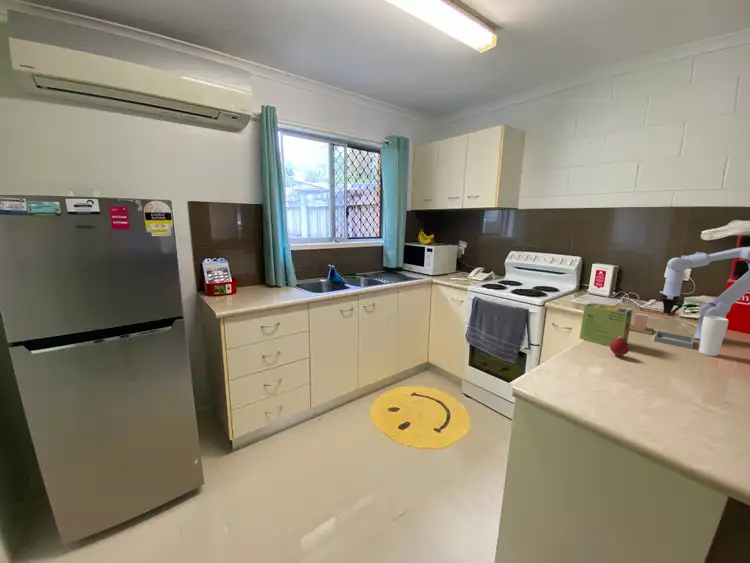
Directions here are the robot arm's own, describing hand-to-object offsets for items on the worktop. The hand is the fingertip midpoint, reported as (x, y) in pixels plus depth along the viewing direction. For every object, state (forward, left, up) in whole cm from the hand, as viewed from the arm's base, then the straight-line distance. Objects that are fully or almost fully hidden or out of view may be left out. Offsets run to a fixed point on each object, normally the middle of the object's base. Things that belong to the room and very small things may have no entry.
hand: (667, 311), depth 149 cm
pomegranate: (+52, -11, -11) cm, 54 cm away
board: (+3, -9, -10) cm, 14 cm away
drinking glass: (+21, +14, -11) cm, 28 cm away
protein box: (+36, -18, -11) cm, 42 cm away
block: (+3, -9, -10) cm, 13 cm away
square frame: (+12, +4, -10) cm, 17 cm away
